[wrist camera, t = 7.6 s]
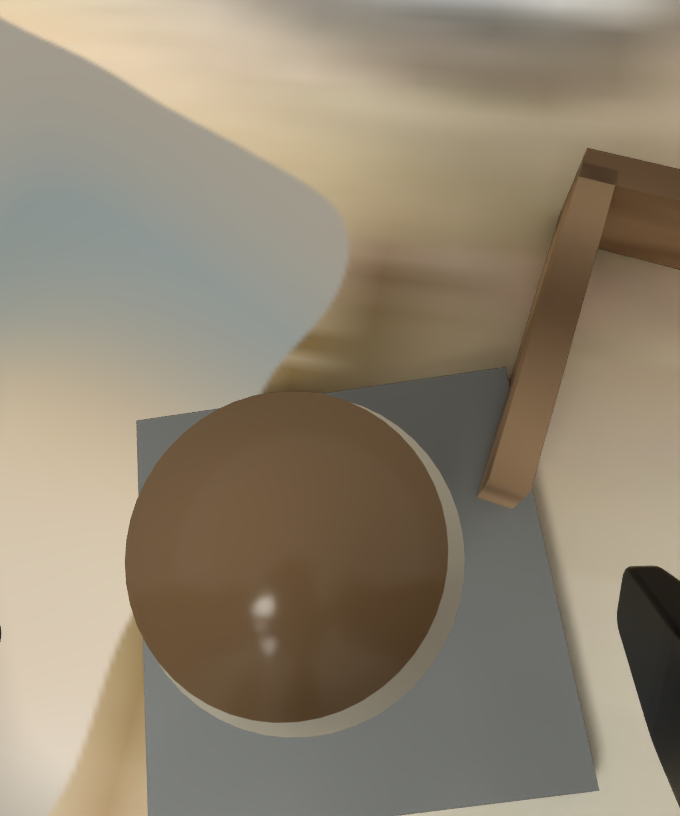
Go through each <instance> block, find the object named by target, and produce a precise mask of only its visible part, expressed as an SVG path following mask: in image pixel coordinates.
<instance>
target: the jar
mask: <svg viewBox="0 0 680 816" xmlns="http://www.w3.org/2000/svg"><path fill="white" fill-rule="evenodd" d="M464 564H465V553H464V543H463V533H462V529H461V524H460V520H459V516H458V511H457V509H456V506H455V503H454V501H453V498H452V495H451V492H450V490H449V488H448V486H447V485H446V483H445V481H444V479H443V477H442V475H441V473H440V471H439V470H438V469H437V467H436V466H435V464H434V463H433V461H432V460H431V459H430V457H429V456H428V454H427V453H426V452H425V451H424V450H423V449H422V448H421V447H420V446H419V445H418V443H417V442H416V441H415V440H414V439H413V438H412V437H410V436H409V435H408V434H407V433H406V432H404V431H403V430H402V429H401V428H400V427H398V426H397V425H396V424H394V423H392V422H391V421H389V420H388V419H386V418H385V417H383V416H382V415H380V414H378V413H376V412H374V411H371V410H369V409H367V408H365V407H363V406H360V405H357V404H354V403H351V402H348V401H345V400H342V399H339V398H336V397H333V396H329V395H324V394H318V393H313V392H300V391H285V392H271V393H266V394H261V395H255V396H251V397H248V398H245V399H242V400H239V401H236V402H233V403H231V404H229V405H227V406H224V407H222V408H220V409H218V410H216V411H214V412H212V413H211V414H209V415H208V416H206V417H204V418H203V419H201V420H199V421H198V422H197V423H196V424H194V425H193V426H192V427H190V428H189V429H188V430H187V431H185V432H184V433H183V434H182V435H181V436H180V437H179V438H178V439H177V440H176V441H175V442H174V443H173V444H172V445H171V446H170V447H169V448H168V449H167V451H166V452H165V453H164V454H163V456H162V457H161V458H160V459H159V461H158V462H157V463H156V465H155V466H154V468H153V470H152V471H151V473H150V475H149V476H148V478H147V479H146V481H145V483H144V486H143V488H142V490H141V492H140V494H139V497H138V499H137V501H136V504H135V507H134V511H133V514H132V517H131V520H130V525H129V530H128V535H127V541H126V556H125V570H126V585H127V590H128V595H129V601H130V605H131V608H132V611H133V614H134V617H135V620H136V624H137V626H138V628H139V630H140V632H141V634H142V636H143V638H144V641H145V643H146V645H147V646H148V648H149V649H150V651H151V652H152V654H153V655H154V657H155V658H156V660H157V661H158V663H159V664H160V666H161V667H162V669H163V670H164V672H165V673H166V675H167V676H168V677H169V678H170V679H171V681H172V682H173V683H174V684H175V685H176V686H177V687H178V688H179V690H180V691H181V692H182V693H183V694H185V695H186V696H187V697H188V698H189V699H190V700H192V701H193V702H194V703H195V704H196V705H198V706H199V707H200V708H202V709H203V710H205V711H206V712H208V713H210V714H211V715H213V716H214V717H216V718H218V719H219V720H222V721H224V722H226V723H228V724H231V725H233V726H235V727H238V728H240V729H243V730H247V731H251V732H254V733H258V734H262V735H268V736H277V737H285V738H292V737H313V736H319V735H324V734H330V733H335V732H338V731H341V730H344V729H347V728H350V727H353V726H356V725H358V724H360V723H362V722H364V721H366V720H368V719H370V718H372V717H374V716H376V715H378V714H379V713H381V712H382V711H384V710H385V709H387V708H388V707H390V706H391V705H393V704H394V703H396V702H397V701H398V700H399V699H400V698H402V697H403V696H404V695H405V694H406V693H407V692H408V691H409V690H410V689H411V688H413V687H414V686H415V685H416V684H417V682H418V681H419V680H420V679H421V678H422V676H423V675H424V674H425V673H426V672H427V670H428V669H429V668H430V667H431V665H432V664H433V662H434V660H435V659H436V657H437V656H438V654H439V653H440V651H441V649H442V648H443V646H444V644H445V642H446V640H447V637H448V635H449V633H450V631H451V629H452V626H453V624H454V621H455V617H456V614H457V611H458V608H459V604H460V600H461V594H462V588H463V582H464Z"/></svg>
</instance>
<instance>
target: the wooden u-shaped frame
mask: <svg viewBox="0 0 680 816" xmlns="http://www.w3.org/2000/svg"><path fill="white" fill-rule="evenodd" d="M598 248H599V249H603V250H607V251H611V252H614V253H618V254H622V255H626V256H630V257H634V258H638V259H642V260H646V261H650V262H653V263H657V264H661V265H665V266H669V267H673V268H677V269H680V169H676V168H672V167H668V166H663V165H659V164H655V163H650V162H646V161H642V160H637V159H633V158H629V157H624V156H620V155H616V154H612V153H607V152H603V151H599V150H594V149H590V148H587V150H586V152H585V155H584V157H583V159H582V162H581V164H580V167H579V169H578V171H577V174H576V176H575V179H574V181H573V184H572V186H571V188H570V191H569V193H568V196H567V198H566V200H565V203H564V205H563V208H562V210H561V213H560V216H559V220H558V223H557V226H556V230H555V233H554V236H553V240H552V243H551V246H550V250H549V253H548V256H547V260H546V263H545V266H544V270H543V273H542V276H541V280H540V283H539V286H538V289H537V293H536V296H535V299H534V303H533V306H532V309H531V313H530V316H529V319H528V323H527V326H526V329H525V333H524V336H523V339H522V343H521V346H520V349H519V353H518V356H517V359H516V363H515V366H514V369H513V373H512V376H511V379H510V383H509V391H508V394H507V397H506V401H505V404H504V407H503V411H502V414H501V417H500V421H499V424H498V427H497V431H496V434H495V437H494V441H493V444H492V447H491V451H490V454H489V458H488V461H487V464H486V468H485V471H484V474H483V478H482V481H481V484H480V488H479V491H478V494H477V498H480V499H483V500H486V501H489V502H492V503H496V504H499V505H502V506H505V507H508V508H511V509H513V508H514V507H515V506H516V505H517V504H518V503H520V502H521V501H522V500H523V499H524V498H525V497H526V496H527V495H528V494H529V493H530V491H531V488H532V484H533V480H534V477H535V473H536V469H537V466H538V462H539V459H540V455H541V451H542V448H543V444H544V441H545V437H546V433H547V430H548V426H549V423H550V419H551V415H552V412H553V408H554V405H555V401H556V397H557V394H558V390H559V386H560V383H561V379H562V376H563V372H564V368H565V365H566V361H567V358H568V354H569V350H570V347H571V343H572V340H573V336H574V332H575V329H576V325H577V322H578V318H579V314H580V311H581V307H582V303H583V300H584V296H585V293H586V289H587V285H588V282H589V278H590V275H591V271H592V267H593V264H594V260H595V257H596V253H597V249H598Z"/></svg>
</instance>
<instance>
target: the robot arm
mask: <svg viewBox="0 0 680 816" xmlns="http://www.w3.org/2000/svg"><path fill="white" fill-rule="evenodd" d="M617 623H618V629H619V633H620V636H621V639H622V643H623V646H624V649H625V653H626V656H627V660H628V663H629V666H630V670H631V673H632V676H633V680H634V683H635V687H636V690H637V693H638V697H639V700H640V703H641V707H642V710H643V714H644V717H645V720H646V723H647V727H648V730H649V733H650V736H651V739H652V742H653V744H654V747H655V749H656V752H657V754H658V757H659V759H660V762H661V764H662V767H663V769H664V771H665V774H666V776H667V779H668V781H669V783H670V786H671V788H672V791H673V793H674V795H675V798H676V800H677V802H678V805H679V807H680V581H679V580H678V579H677V578H675V577H674V576H672V575H671V574H669V573H668V572H667V571H665V570H664V569H662V568H660V567H658V566H631V567H628V568H627V569H626V570H625V571H624V574H623V578H622V584H621V591H620V597H619V604H618V610H617ZM0 639H1V627H0Z"/></svg>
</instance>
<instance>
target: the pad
mask: <svg viewBox="0 0 680 816" xmlns="http://www.w3.org/2000/svg"><path fill="white" fill-rule="evenodd" d="M508 391H509V383H508V378H507V374H506V369H505V367H502V368H495V369H488V370H481V371H474V372H467V373H461V374H454V375H447V376H440V377H433V378H426V379H419V380H412V381H405V382H399V383H392V384H385V385H378V386H371V387H364V388H357V389H350V390H344V391H337V392H330V393H323V394H324V395H329V396H333V397H336V398H339V399H342V400H345V401H348V402H351V403H354V404H357V405H360V406H363V407H365V408H367V409H369V410H371V411H374V412H376V413H378V414H380V415H382V416H383V417H385V418H386V419H388V420H389V421H391V422H392V423H394V424H396V425H397V426H398V427H400V428H401V429H402V430H403V431H404V432H406V433H407V434H408V435H409V436H410V437H412V438H413V439H414V440H415V441H416V442H417V443H418V445H419V446H420V447H421V448H422V449H423V450H424V451H425V452H426V453H427V454H428V456H429V457H430V459H431V460H432V461H433V463H434V464H435V466H436V467H437V469H438V470H439V471H440V473H441V475H442V477H443V479H444V481H445V483H446V485H447V486H448V488H449V490H450V492H451V495H452V498H453V501H454V503H455V506H456V509H457V511H458V516H459V520H460V524H461V529H462V533H463V543H464V553H465V564H464V582H463V588H462V594H461V600H460V604H459V608H458V611H457V614H456V617H455V621H454V624H453V626H452V629H451V631H450V633H449V635H448V637H447V640H446V642H445V644H444V646H443V648H442V649H441V651H440V653H439V654H438V656H437V657H436V659H435V660H434V662H433V664H432V665H431V667H430V668H429V669H428V670H427V672H426V673H425V674H424V675H423V676H422V678H421V679H420V680H419V681H418V682H417V684H416V685H415V686H414V687H413V688H411V689H410V690H409V691H408V692H407V693H406V694H405V695H404V696H403V697H402V698H400V699H399V700H398V701H397V702H396V703H394V704H393V705H391V706H390V707H388V708H387V709H385V710H384V711H382V712H381V713H379V714H378V715H376V716H374V717H372V718H370V719H368V720H366V721H364V722H362V723H360V724H358V725H356V726H353V727H350V728H347V729H344V730H341V731H338V732H335V733H330V734H324V735H319V736H313V737H292V738H285V737H277V736H268V735H262V734H258V733H254V732H251V731H247V730H243V729H240V728H238V727H235V726H233V725H231V724H228V723H226V722H224V721H222V720H219V719H218V718H216V717H214V716H213V715H211V714H210V713H208V712H206V711H205V710H203V709H202V708H200V707H199V706H198V705H196V704H195V703H194V702H193V701H192V700H190V699H189V698H188V697H187V696H186V695H185V694H183V693H182V692H181V691H180V690H179V688H178V687H177V686H176V685H175V684H174V683H173V682H172V681H171V679H170V678H169V677H168V676H167V675H166V673H165V672H164V670H163V669H162V667H161V666H160V664H159V663H158V661H157V660H156V658H155V657H154V655H153V654H152V652H151V651H150V649H149V648H148V646H147V645H146V643H145V641H144V638H143V662H144V696H145V730H146V764H147V798H148V816H398V815H406V814H414V813H422V812H430V811H438V810H447V809H455V808H463V807H471V806H479V805H487V804H495V803H503V802H511V801H519V800H527V799H535V798H543V797H551V796H560V795H568V794H576V793H584V792H592V791H599V787H598V782H597V778H596V773H595V769H594V764H593V760H592V755H591V751H590V746H589V742H588V737H587V733H586V728H585V724H584V719H583V715H582V710H581V706H580V701H579V697H578V692H577V688H576V684H575V679H574V675H573V670H572V666H571V661H570V657H569V652H568V648H567V643H566V639H565V634H564V630H563V625H562V621H561V616H560V612H559V607H558V603H557V598H556V594H555V589H554V585H553V580H552V576H551V571H550V567H549V562H548V558H547V553H546V549H545V544H544V540H543V535H542V531H541V526H540V522H539V517H538V513H537V508H536V504H535V499H534V495H533V490H532V488H531V491H530V493H529V494H528V495H527V496H526V497H525V498H524V499H523V500H522V501H521V502H520V503H518V504H517V505H516V506H515V507H514V508H513V509H511V508H508V507H505V506H502V505H499V504H496V503H492V502H489V501H486V500H483V499H480V498H477V494H478V491H479V488H480V484H481V481H482V478H483V474H484V471H485V468H486V464H487V461H488V458H489V454H490V451H491V447H492V444H493V441H494V437H495V434H496V431H497V427H498V424H499V421H500V417H501V414H502V411H503V407H504V404H505V401H506V397H507V394H508ZM216 410H218V409H213V410H206V411H199V412H192V413H185V414H178V415H171V416H165V417H158V418H151V419H144V420H137V422H136V424H137V454H138V491H139V494H140V492H141V490H142V488H143V486H144V483H145V481H146V479H147V478H148V476H149V475H150V473H151V471H152V470H153V468H154V466H155V465H156V463H157V462H158V461H159V459H160V458H161V457H162V456H163V454H164V453H165V452H166V451H167V449H168V448H169V447H170V446H171V445H172V444H173V443H174V442H175V441H176V440H177V439H178V438H179V437H180V436H181V435H182V434H183V433H184V432H185V431H187V430H188V429H189V428H190V427H192V426H193V425H194V424H196V423H197V422H198V421H199V420H201V419H203V418H204V417H206V416H208V415H209V414H211V413H212V412H214V411H216Z"/></svg>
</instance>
